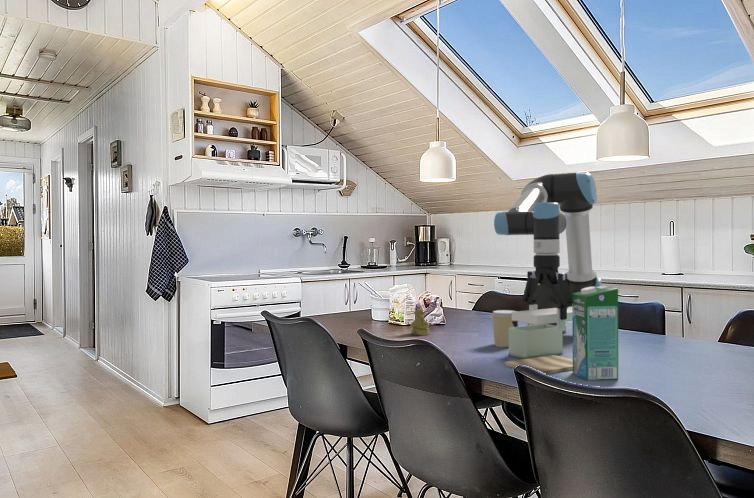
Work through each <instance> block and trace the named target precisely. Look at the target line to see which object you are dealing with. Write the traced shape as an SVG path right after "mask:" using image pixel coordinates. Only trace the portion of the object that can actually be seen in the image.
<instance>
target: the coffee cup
mask: <svg viewBox="0 0 754 498" xmlns="http://www.w3.org/2000/svg"><path fill="white" fill-rule="evenodd" d="M516 311H517V310H512V309H511V310H510V309H498V310H493V311H492V314H491V315H492V326H493V340H494V342H493V343H494V345H495V346H496V347H500V348H509V328H512V327H519V321H515V320H512V312H516Z"/></svg>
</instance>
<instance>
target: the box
mask: <svg viewBox="0 0 754 498" xmlns="http://www.w3.org/2000/svg"><path fill="white" fill-rule="evenodd" d="M563 338H564V336H563V333H562V331H557V326H555V325H549V324H540V325H538V326H527V325H522V326H518V327H512V328H509V347H508V356H511V357H514V358H518V359H528V358H534V357H541V356H548V355H556V356H559V355H563V353H564V352H563V346H564V345H563V343H564V342H563Z"/></svg>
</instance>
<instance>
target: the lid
mask: <svg viewBox="0 0 754 498" xmlns="http://www.w3.org/2000/svg"><path fill="white" fill-rule="evenodd" d="M515 311H516V312H512V320H515V321H518V322H520V323H522V324H523V323H524V324H527V325H528V324H534V325H540V324H550V323H557V308H549V309H538V310H528V309H526V310H519V311H517V310H515ZM566 322H573V317H572V309H567V319H566V320H565V323H566Z"/></svg>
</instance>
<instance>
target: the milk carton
mask: <svg viewBox="0 0 754 498" xmlns="http://www.w3.org/2000/svg"><path fill="white" fill-rule="evenodd" d="M571 310H572V317H573V320H572V359H573V370H572V374H574V375H576V376H578V377H580V378H581V377H582V379H583V378H584V380H585V379H586V380H585V381H587V380H588V381H594V380H593V379H617V380H619V288H618V287H613V286H608V285H603V284H601V286H598V287H594V286H592V287H586V288H583V289H581V291H580V292H577V293H573V294H572V309H571Z"/></svg>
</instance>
